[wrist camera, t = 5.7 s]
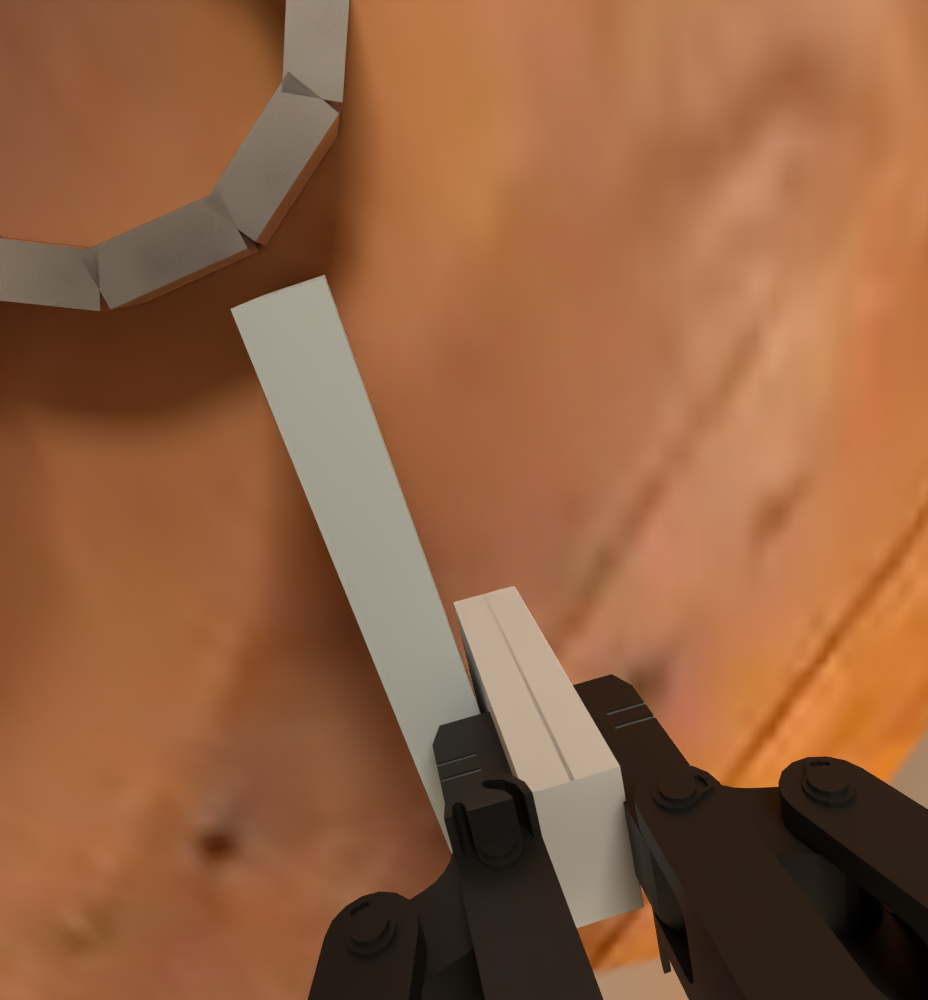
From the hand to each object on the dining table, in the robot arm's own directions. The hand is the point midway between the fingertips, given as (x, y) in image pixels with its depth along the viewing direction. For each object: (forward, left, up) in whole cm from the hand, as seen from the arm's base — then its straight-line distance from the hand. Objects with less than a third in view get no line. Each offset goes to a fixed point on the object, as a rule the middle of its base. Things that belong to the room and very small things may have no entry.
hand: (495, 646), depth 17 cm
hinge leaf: (-2, 0, -5) cm, 5 cm away
